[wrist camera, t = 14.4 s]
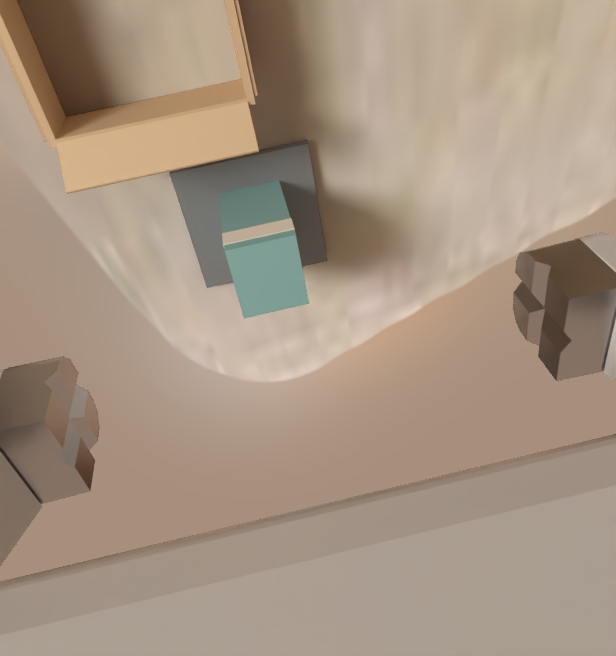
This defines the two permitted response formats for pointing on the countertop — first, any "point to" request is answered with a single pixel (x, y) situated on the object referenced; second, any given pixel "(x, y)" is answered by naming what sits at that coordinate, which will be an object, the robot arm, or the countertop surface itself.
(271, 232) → the tea box
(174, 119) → the carton
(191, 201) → the mat
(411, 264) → the countertop surface
